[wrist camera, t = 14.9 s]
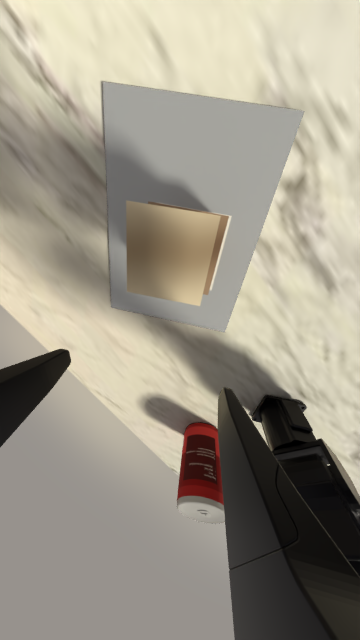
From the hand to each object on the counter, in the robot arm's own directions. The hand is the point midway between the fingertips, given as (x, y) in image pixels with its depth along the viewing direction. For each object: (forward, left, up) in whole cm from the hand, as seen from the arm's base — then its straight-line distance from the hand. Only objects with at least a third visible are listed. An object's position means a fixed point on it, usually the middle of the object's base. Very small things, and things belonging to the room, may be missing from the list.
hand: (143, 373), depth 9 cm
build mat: (+7, +1, -13) cm, 15 cm away
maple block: (+6, 0, -8) cm, 10 cm away
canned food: (-28, -10, -13) cm, 33 cm away
